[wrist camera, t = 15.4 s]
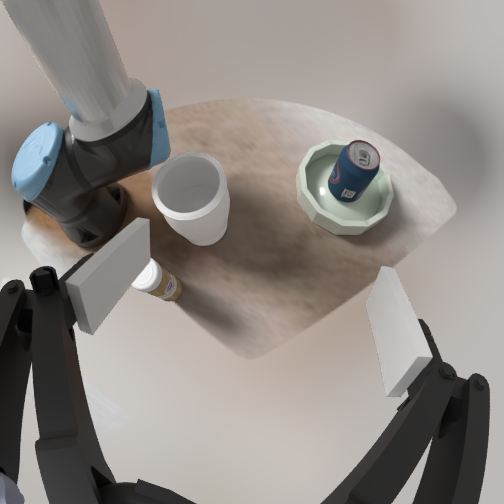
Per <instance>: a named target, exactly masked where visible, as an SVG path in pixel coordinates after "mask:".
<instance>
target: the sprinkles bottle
mask: <svg viewBox="0 0 504 504" xmlns="http://www.w3.org/2000/svg"><path fill="white" fill-rule="evenodd" d="M131 285H132V286H133V287H134V288H135V289H137V290H139V291H142V292H147V293H149V294H151V295H154V296H156V297H159V298H161V299H163V300H165V301H174V300H176V299H177V298H178V297H179V296H180V294H181V291H182V286H181V283H180V281H179V280H178V279H177V278H176V277H174V276H173V275H172V274H170V273H169V272H168V271H167V270H165V269H164V268H163V267H161V266H160V265H159V264H158V263H157V262H156V261H155V260H154V259H152V258H151V261H150V262H149V264H148V265H147V266H146V267H145V268H144V270H143V271H142V272H141V273H140V275H139V276H138V277H137V278H136V279H135V281H134V282H133V283H132V284H131Z"/></svg>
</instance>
